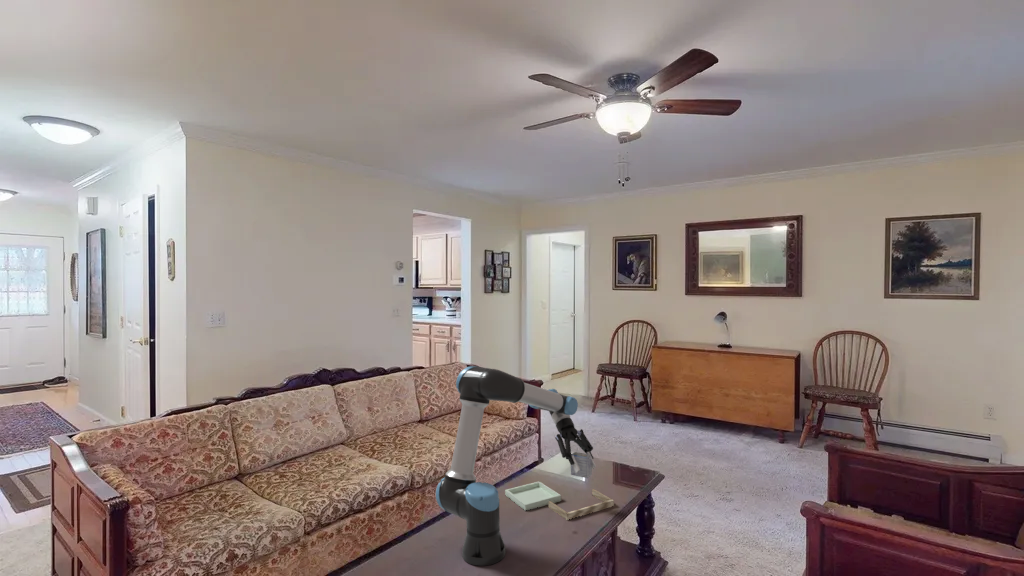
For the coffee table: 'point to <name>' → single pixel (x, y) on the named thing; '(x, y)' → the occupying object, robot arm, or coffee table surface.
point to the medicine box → (582, 465)
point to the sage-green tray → (532, 495)
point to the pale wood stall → (583, 511)
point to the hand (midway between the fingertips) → (586, 469)
